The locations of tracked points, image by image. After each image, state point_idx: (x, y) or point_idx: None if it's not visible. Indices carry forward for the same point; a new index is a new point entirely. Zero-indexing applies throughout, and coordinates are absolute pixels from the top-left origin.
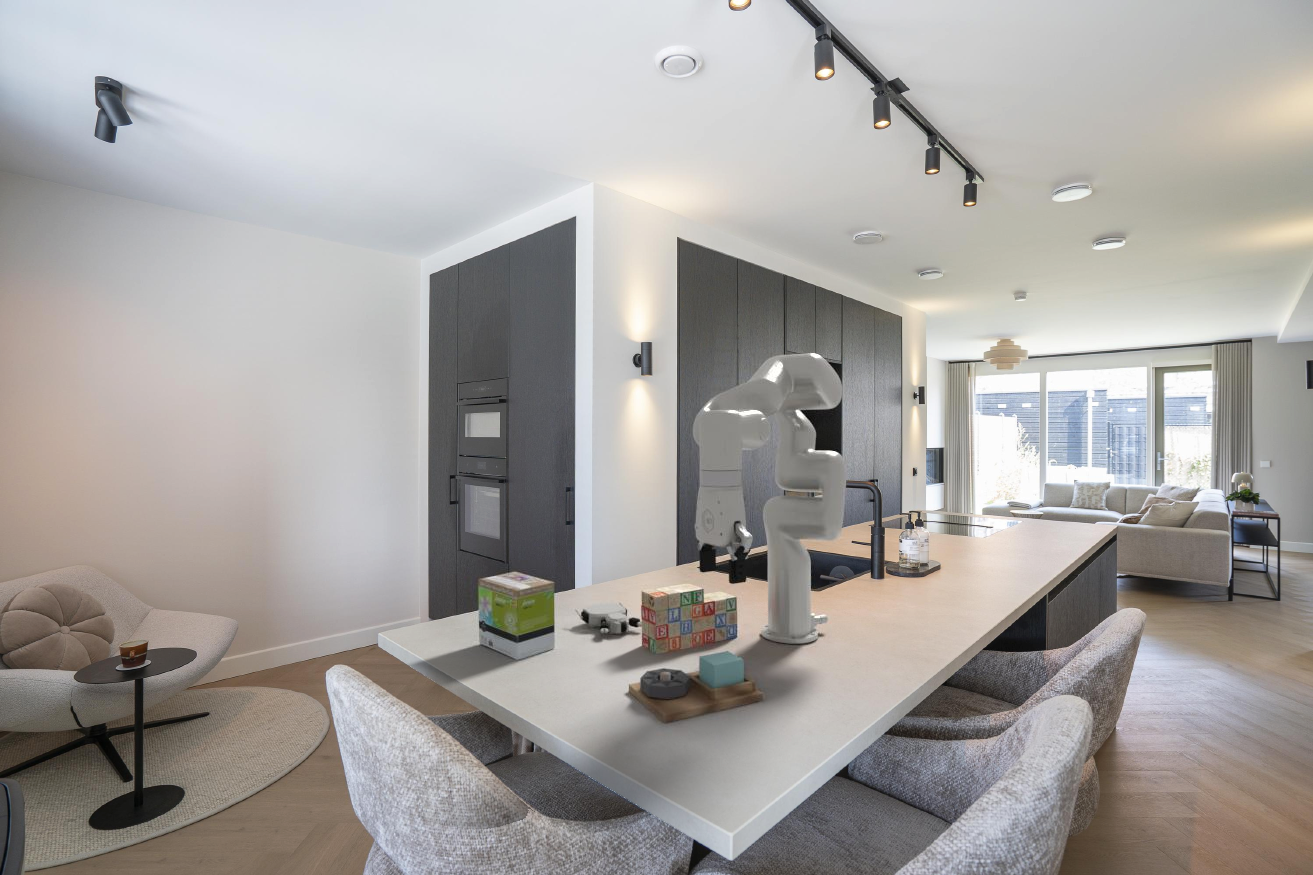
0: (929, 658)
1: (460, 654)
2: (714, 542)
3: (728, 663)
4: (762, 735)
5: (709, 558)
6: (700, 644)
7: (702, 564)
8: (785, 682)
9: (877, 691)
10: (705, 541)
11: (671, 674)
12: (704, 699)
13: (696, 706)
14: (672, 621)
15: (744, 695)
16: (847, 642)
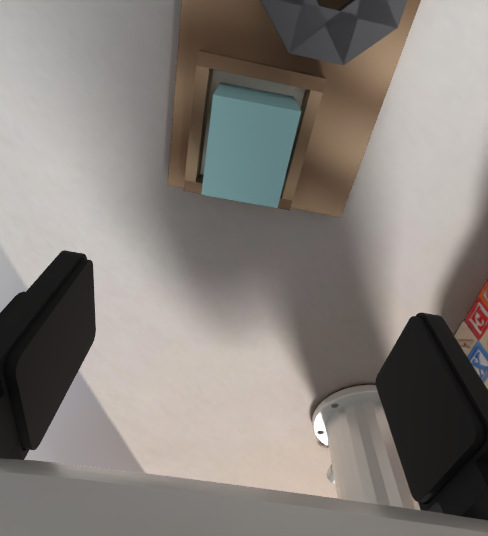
0: (157, 458)
1: None
2: (82, 524)
3: (207, 145)
4: (23, 40)
5: (419, 419)
6: (482, 289)
7: (431, 349)
8: (212, 271)
9: (100, 342)
10: (356, 527)
11: (341, 13)
12: (216, 38)
13: None
14: None
15: (179, 142)
16: (272, 442)
